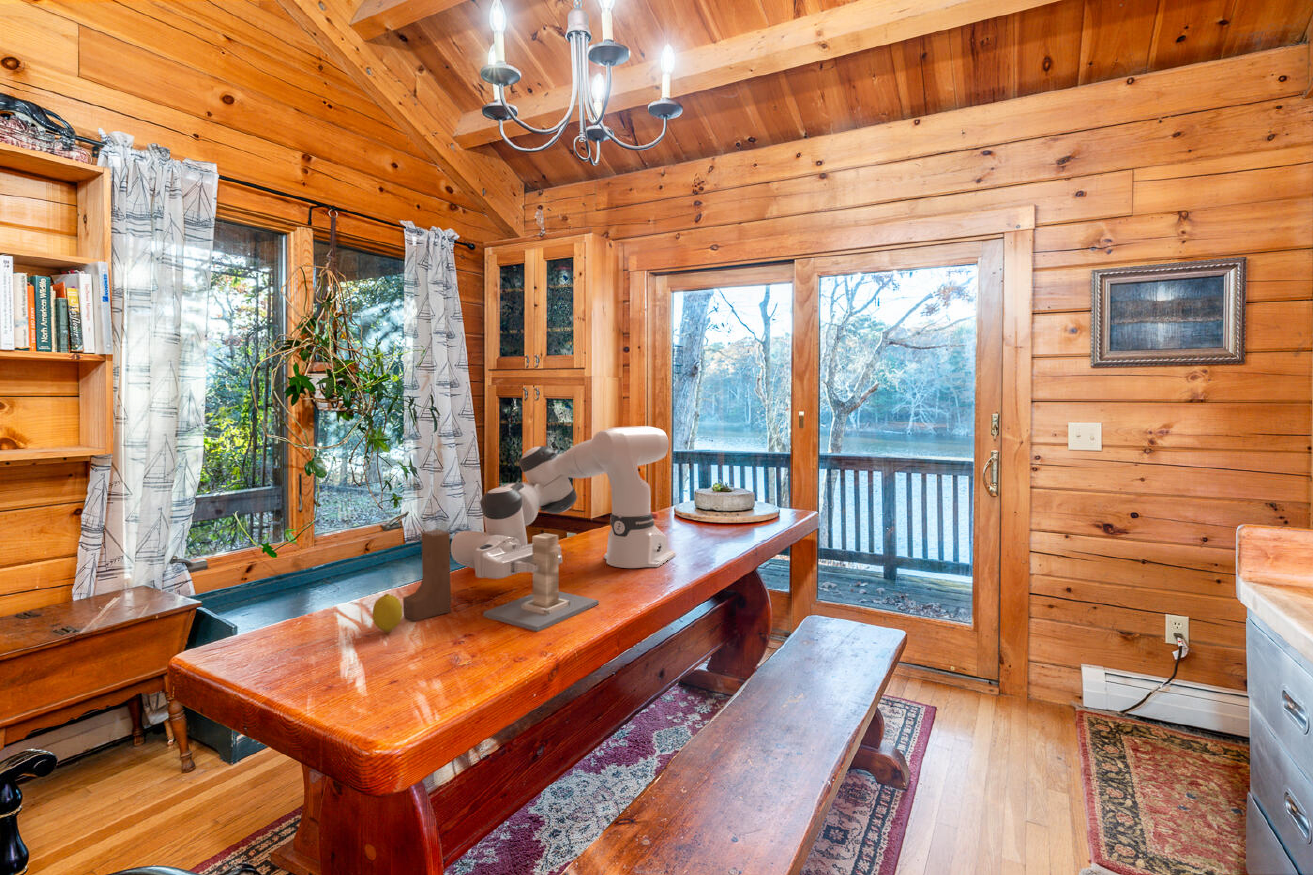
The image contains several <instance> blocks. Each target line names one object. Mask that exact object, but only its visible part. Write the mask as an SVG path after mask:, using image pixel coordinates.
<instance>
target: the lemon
mask: <svg viewBox="0 0 1313 875" xmlns="http://www.w3.org/2000/svg"><path fill="white" fill-rule="evenodd" d="M402 617H403V607H402V604H401V601H400V600H399V599H398V598H397V597H396V596H394V595H392V594H389V593H385V594H383V596H381V597H379V598H378V599H377V600H376V601H375V602H374V605H373V609H372V621H373V623H374V625H375V627H376V628H378V629H379V630H382V631H384V632H385V633H387V634H388V633H390V632H391V631H392V630H394V629H395V628H396V627H398V625H399V624H400V622H402V621H401V620H402V619H403V618H402Z"/></svg>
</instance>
